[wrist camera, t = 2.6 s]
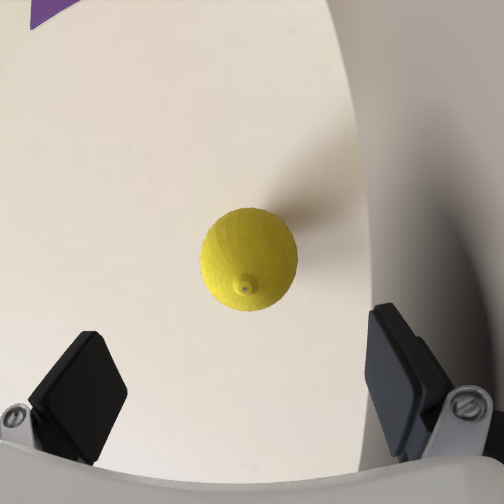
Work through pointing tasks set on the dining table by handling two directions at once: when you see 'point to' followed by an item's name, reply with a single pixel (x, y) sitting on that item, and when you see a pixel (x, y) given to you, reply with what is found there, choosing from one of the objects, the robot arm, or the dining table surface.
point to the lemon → (248, 259)
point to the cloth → (46, 10)
